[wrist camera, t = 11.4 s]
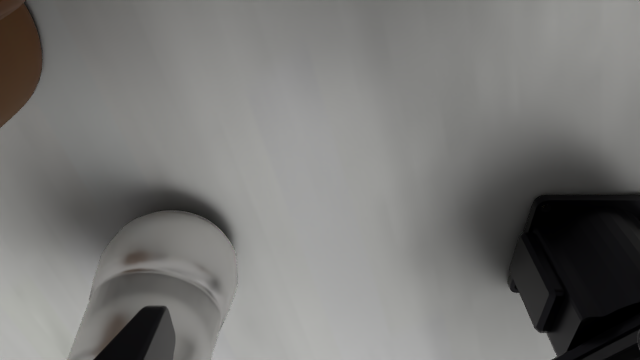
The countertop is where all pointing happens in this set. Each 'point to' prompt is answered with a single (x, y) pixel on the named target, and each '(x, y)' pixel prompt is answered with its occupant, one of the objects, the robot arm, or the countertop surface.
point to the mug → (17, 58)
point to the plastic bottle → (162, 283)
